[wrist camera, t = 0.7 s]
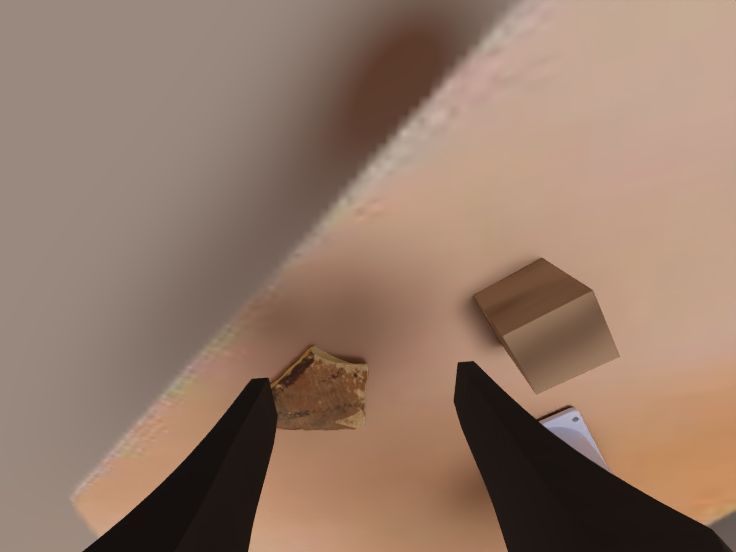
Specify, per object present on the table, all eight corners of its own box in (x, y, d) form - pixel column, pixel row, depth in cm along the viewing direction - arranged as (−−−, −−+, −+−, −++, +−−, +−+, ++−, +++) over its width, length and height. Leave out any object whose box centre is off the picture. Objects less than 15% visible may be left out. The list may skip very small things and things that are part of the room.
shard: (235, 413, 26) (226, 431, 24) (224, 336, 23) (213, 351, 21) (364, 417, 26) (364, 435, 25) (369, 342, 23) (369, 357, 22)
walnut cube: (566, 312, 22) (619, 356, 18) (502, 344, 23) (536, 394, 19) (541, 257, 20) (593, 290, 16) (472, 295, 22) (502, 336, 17)
